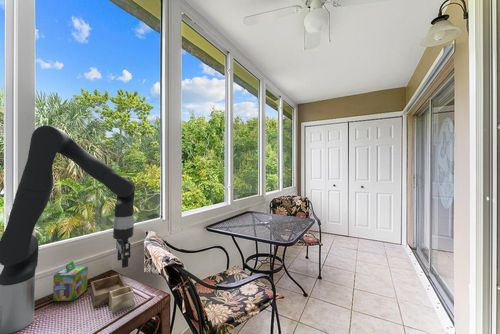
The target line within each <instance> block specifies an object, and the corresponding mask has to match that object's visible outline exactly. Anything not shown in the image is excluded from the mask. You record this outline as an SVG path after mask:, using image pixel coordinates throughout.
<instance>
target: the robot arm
mask: <svg viewBox="0 0 500 334" xmlns="http://www.w3.org/2000/svg"><path fill="white" fill-rule="evenodd" d="M57 153H58V154H60V155H62V156H64V157H66V159H67V158H68V159H69V160H71V161H72V162H73V163H75V164H76V165H77V166H79V168H80V169H81V170H83V172H85V173H86V174H87V175H89V177H92V178H93V179H94V180H95V181H97V182H99V183H101V184H103V185H104V186H105V187H106V188H107V189H108V190H110V191H111V192H112V194H114V195H116V201H115V205H114V215H113V216H114V217H113V228H112V229H113V231H112V235H113V236H112V237H113V239H115V240H116V244H115V245H116V246H115V248H116V252H117V258H116V259H117V261H121V267H122V269H125V268H127V267H129V258H131V245H132V244H131V243H130V240H129V239H130V238H132V237H134V230H135V229H134V223H135V220H134V199H135V194H136V193H135V191H136V186H135V185H136V184H135V183H134V182H133V181H132V180H130V179H129V178H127V179H125V178H124V177H122V176H121V175H120V174H118V173H117V171H116V170H115V169H113V168H112V167H110V166H109V165H108V164H107V163H105V162H104V161H102V160H101V159H99V158H97V157H96V156H94V155H93V154H91V153H90V152H88V151H87V150H86V149H84V148H83V147H82V146H81V145H79V143H77V142H76V141H75V139H73V138H72V137H71V136H70V135H69V134H68V133H67V132H65V131H64V130H63V129H61V128H58V127H56V126H53V125H47V124H45V125H41V126H39V127H37V128H35V129H34V131H33V132H32V134H31V137H30V142H29V149H28V154H27V160H26V163H25V166H24V168H23V171H22V174H21V178H20V181H19V182H18V183H19V184H18V186H17V189H16V191H15V197H14V199H13V203H12V206H11V210H10V213H9V215H8V216H9V217H8V221H7V224H6V227H5V229H4V231H3V234H2V236H1V238H0V265H1V266H3V268H2V271H1V272H0V334H12V333H15V332H18V331H21V330H23V329H25V328H27V327H28V326H30V325H31V324H32V323H33V322H34V320H35V295H36V293H35V291H36V269H37V267H38V261H39V240H38V238H37V237H36V236H35V235H34V234H33V233H34V230H35V226H36V224H37V223H38V221H39V219H40V218H41V216H42V214H43V212H44V211H45V209H46V208H47V205H48V203H49V202H50V198H51V194H52V192H53V188H54V175H53V174H54V173H53V167H54V166H53V164H54V161H55V159H56V156H57Z"/></svg>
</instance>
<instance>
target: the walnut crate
mask: <svg viewBox="0 0 500 334" xmlns="http://www.w3.org/2000/svg"><path fill="white" fill-rule="evenodd" d="M126 286H127V284H126V282H125V281H124V279H123V277H122V275H121V274H116V275H112V276H109V277H104V278H101V279H97V280H94V281H90V296H91V299H92V305H93V308H94V309H96V308H98V307H101V306H104V305H107V304H108V305H109V294H110V291H113V290H117V289H120V288H123V287H126Z"/></svg>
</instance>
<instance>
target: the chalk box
mask: <svg viewBox="0 0 500 334" xmlns="http://www.w3.org/2000/svg"><path fill="white" fill-rule="evenodd" d="M88 270H89V267H88V265H87V266H84V265H83V266H82V265H75V262H74V260H73V261H72V260H71V261H70V262H68V263H67V264H66V265H65V268H63V269H61V270H60V271H58V272H56V273H55V274H53V287H52V288H53V289H52V290H53V291H52V292H53V293H52V301H53V302H70V301H71V302H73V301H76V300H77V299H78V298H79V297H80V296H81V295H83V293H85V292H86V291H88V276H89V275H88V274H89V273H88V272H89V271H88Z"/></svg>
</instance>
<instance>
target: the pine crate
mask: <svg viewBox="0 0 500 334" xmlns="http://www.w3.org/2000/svg"><path fill="white" fill-rule="evenodd" d="M134 295H135V291H134V289H133V287H132V286H131V285H126V287H123V288H120V289H117V290H113V291H110V294H109V303H108V305H109V306H108V307H109V309H110V312H111V313H112V314H113V313H115V312H118V311H121V310H124V309H126V308H129V307H133V306H134Z"/></svg>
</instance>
